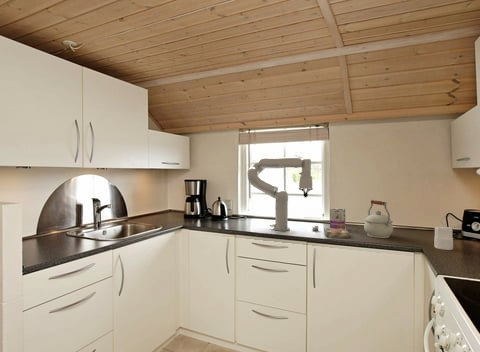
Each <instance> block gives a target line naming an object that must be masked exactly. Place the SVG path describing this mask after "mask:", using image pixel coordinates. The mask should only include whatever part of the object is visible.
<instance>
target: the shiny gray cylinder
mask: <svg viewBox="0 0 480 352" xmlns="http://www.w3.org/2000/svg"><path fill="white" fill-rule="evenodd" d="M311 229H312V232H319V226H318V225H312V228H311Z"/></svg>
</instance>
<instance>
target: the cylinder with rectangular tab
mask: <svg viewBox="0 0 480 352" xmlns="http://www.w3.org/2000/svg"><path fill="white" fill-rule="evenodd" d="M433 241H434V243H433V244H434V245H433V246H434V248H435V249H439V250H443V251H444V250H447V251H450V250H451V251H452V250H454V238H453V227H449V226H439V227H438V226H437V227H436V226H435V227H434V240H433Z"/></svg>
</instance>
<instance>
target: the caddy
mask: <svg viewBox="0 0 480 352" xmlns="http://www.w3.org/2000/svg"><path fill="white" fill-rule="evenodd" d="M326 229H327V230H332V229H335V228H330V227H328V228H327V227H326ZM338 230H344V231H345V232H327V235H326V237H327V238H345V239H347V238H350V237H349V235H350V233H349V232H348V230H347V229H346V228H345V229H338Z"/></svg>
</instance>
